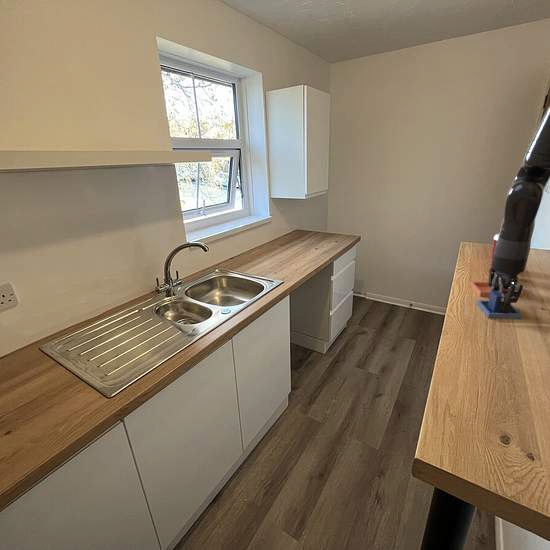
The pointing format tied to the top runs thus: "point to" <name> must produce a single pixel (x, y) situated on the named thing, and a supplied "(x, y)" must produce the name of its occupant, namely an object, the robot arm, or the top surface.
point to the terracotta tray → (483, 288)
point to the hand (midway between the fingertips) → (498, 307)
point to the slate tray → (511, 315)
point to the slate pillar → (494, 301)
